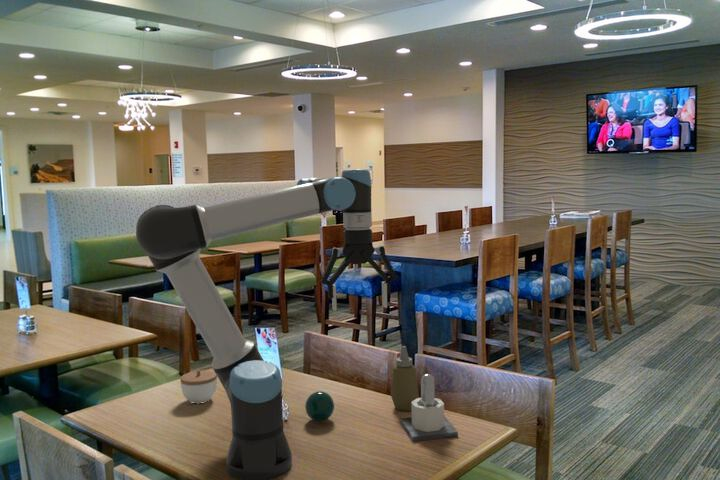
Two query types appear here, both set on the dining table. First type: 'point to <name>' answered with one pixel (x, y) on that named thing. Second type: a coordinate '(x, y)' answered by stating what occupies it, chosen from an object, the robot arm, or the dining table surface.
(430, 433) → the post
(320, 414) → the sphere
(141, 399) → the dining table surface
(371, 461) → the dining table surface
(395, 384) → the squeeze bottle
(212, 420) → the dining table surface
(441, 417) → the ring
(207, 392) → the lidded jar
